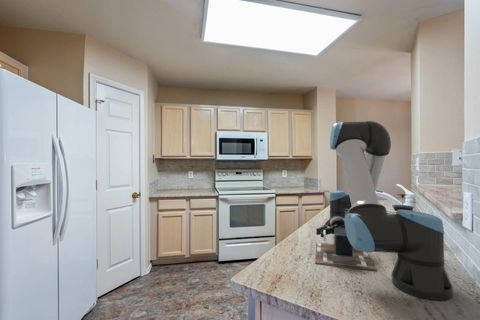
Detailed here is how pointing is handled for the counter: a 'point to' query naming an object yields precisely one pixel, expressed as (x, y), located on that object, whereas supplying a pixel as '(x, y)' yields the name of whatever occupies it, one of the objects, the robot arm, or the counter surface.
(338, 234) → the small box
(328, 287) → the counter surface
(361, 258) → the keyhole plate
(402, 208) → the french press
